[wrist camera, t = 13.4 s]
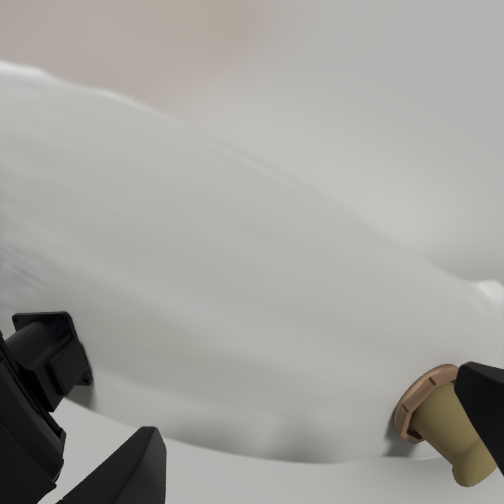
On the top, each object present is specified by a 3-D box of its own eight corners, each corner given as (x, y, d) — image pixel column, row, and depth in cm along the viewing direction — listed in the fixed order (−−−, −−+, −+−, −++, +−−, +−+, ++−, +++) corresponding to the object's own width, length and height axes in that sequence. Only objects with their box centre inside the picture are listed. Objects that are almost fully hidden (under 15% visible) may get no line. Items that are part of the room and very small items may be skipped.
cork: (447, 413, 23) (499, 473, 13) (402, 434, 23) (450, 506, 12) (459, 371, 22) (525, 431, 11) (412, 392, 22) (476, 469, 11)
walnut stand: (387, 441, 24) (394, 453, 22) (401, 379, 22) (411, 391, 20) (449, 414, 25) (458, 424, 23) (468, 353, 23) (480, 362, 21)
